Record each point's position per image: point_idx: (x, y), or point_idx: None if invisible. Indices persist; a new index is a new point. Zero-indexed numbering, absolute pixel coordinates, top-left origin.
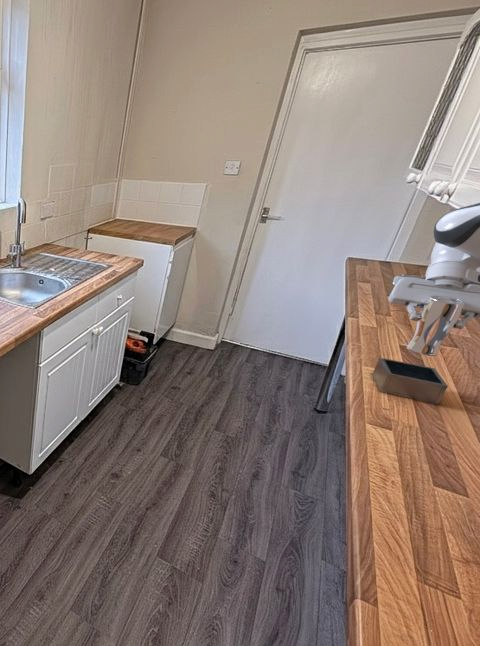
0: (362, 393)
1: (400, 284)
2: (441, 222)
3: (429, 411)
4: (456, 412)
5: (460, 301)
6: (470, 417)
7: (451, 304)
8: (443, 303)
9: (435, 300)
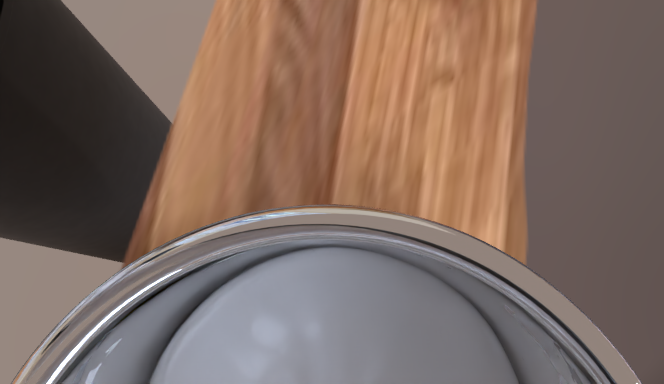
0: (510, 182)
1: None
2: None
3: (289, 153)
4: (189, 205)
5: None
6: (153, 186)
7: (320, 210)
8: (455, 237)
9: (609, 341)
